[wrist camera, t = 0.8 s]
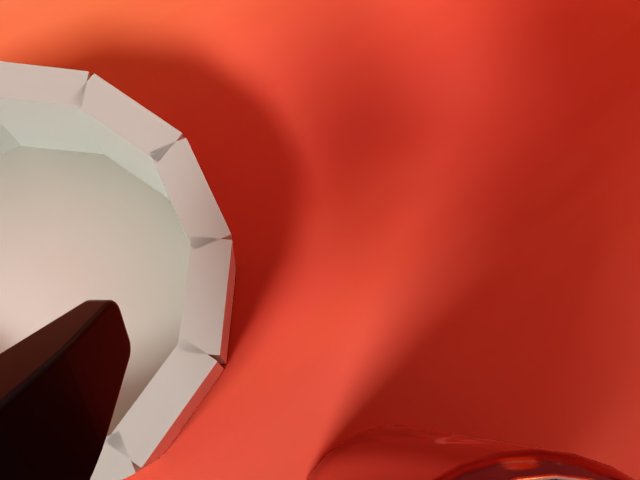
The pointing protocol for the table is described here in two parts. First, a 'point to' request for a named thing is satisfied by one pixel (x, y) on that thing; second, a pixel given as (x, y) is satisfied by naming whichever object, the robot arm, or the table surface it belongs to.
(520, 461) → the soda can
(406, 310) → the table surface
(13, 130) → the bowl
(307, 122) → the table surface
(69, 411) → the robot arm
